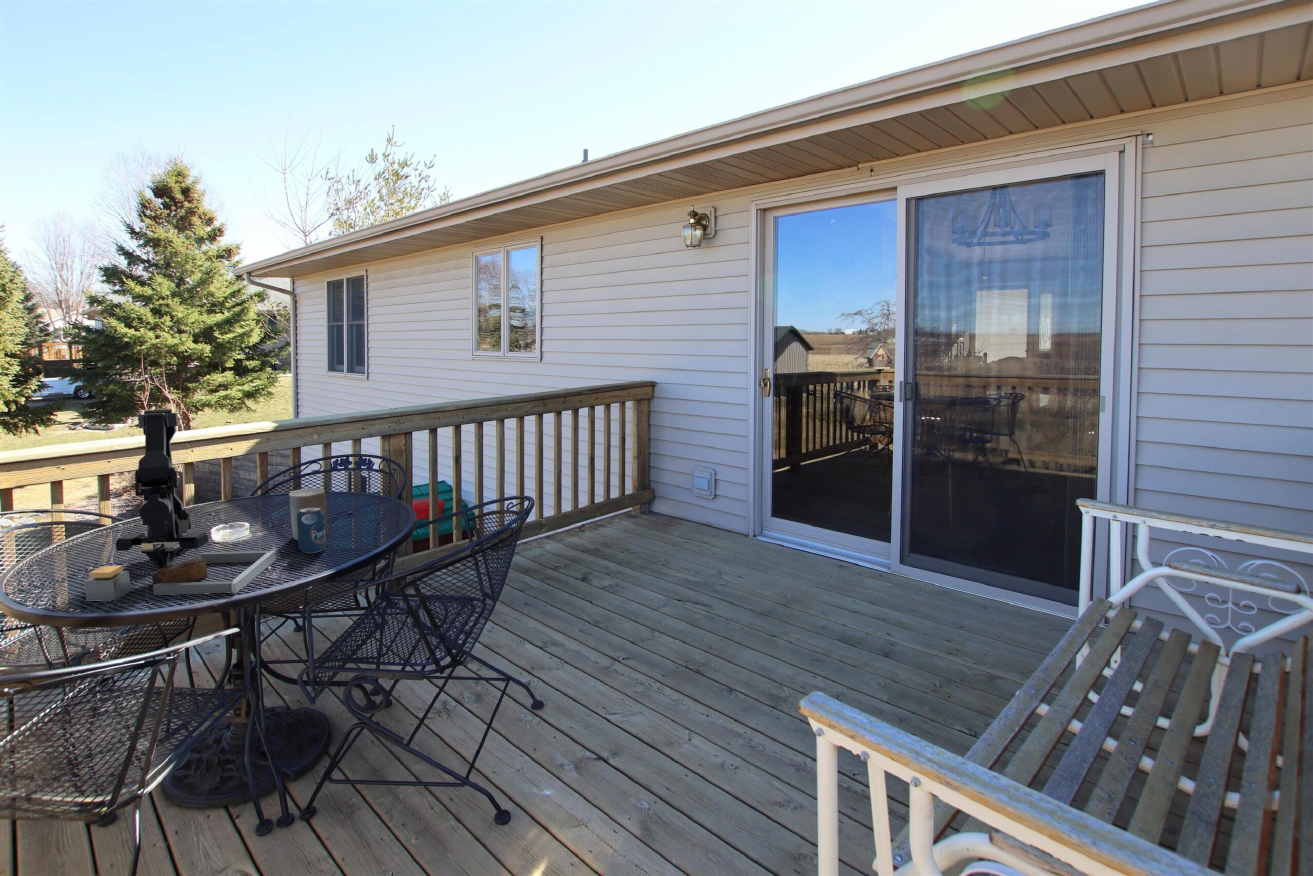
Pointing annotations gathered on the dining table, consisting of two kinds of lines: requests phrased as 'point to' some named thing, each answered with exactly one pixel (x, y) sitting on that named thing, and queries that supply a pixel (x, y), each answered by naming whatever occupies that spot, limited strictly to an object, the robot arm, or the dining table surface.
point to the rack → (261, 563)
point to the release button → (105, 572)
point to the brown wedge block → (181, 572)
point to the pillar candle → (306, 505)
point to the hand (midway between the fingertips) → (166, 574)
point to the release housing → (107, 587)
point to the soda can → (311, 529)
